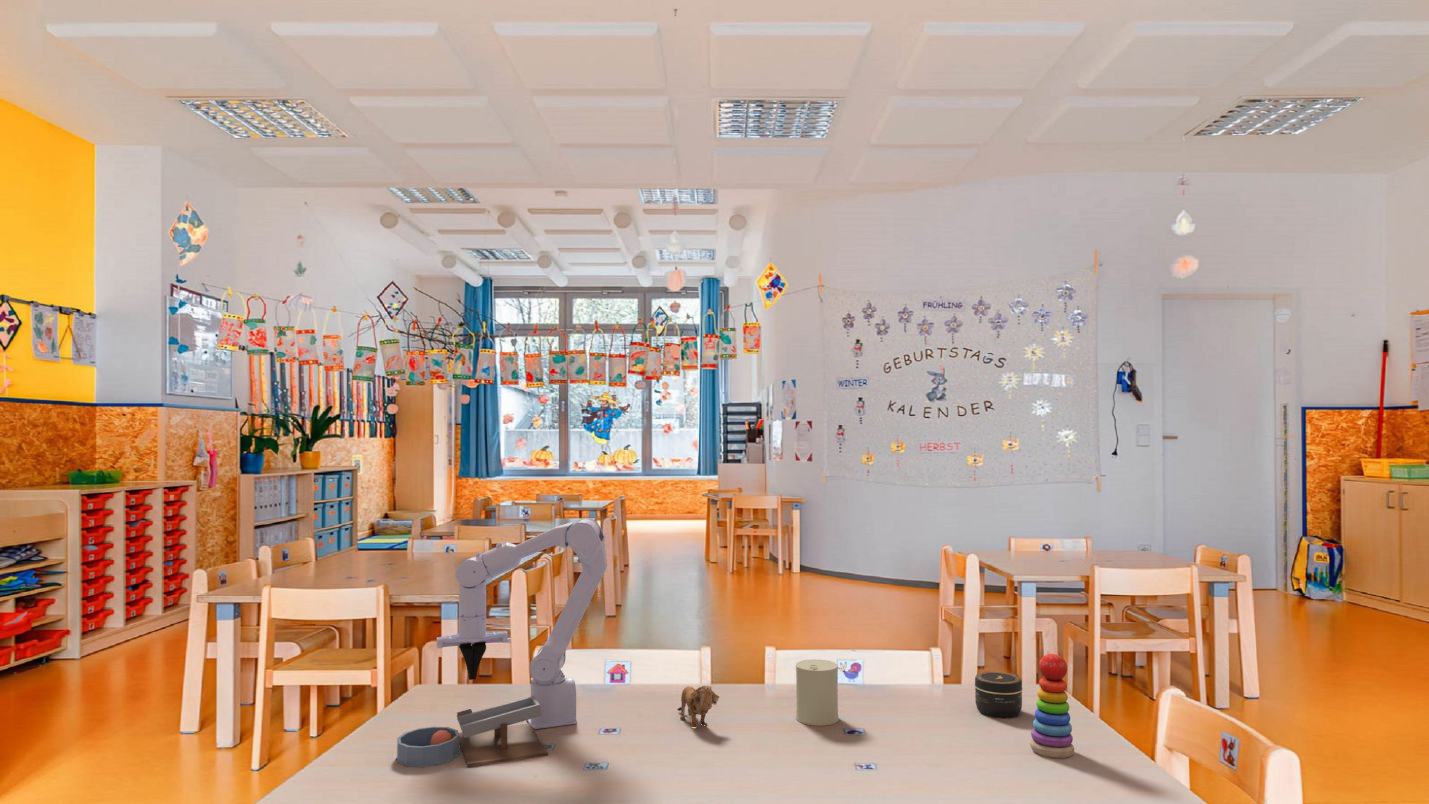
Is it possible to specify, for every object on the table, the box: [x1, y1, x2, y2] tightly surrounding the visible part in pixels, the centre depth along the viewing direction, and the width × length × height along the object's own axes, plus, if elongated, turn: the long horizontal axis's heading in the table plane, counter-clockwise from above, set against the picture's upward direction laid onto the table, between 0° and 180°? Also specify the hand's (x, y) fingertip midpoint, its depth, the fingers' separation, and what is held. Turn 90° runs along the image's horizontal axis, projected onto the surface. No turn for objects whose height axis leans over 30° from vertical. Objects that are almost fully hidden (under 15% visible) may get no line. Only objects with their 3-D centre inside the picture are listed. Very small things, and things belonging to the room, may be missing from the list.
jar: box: [974, 671, 1024, 719], centre depth 192 cm, size 10×10×8 cm
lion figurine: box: [677, 685, 720, 728], centre depth 186 cm, size 15×5×9 cm, turn 31°
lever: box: [456, 695, 542, 738], centre depth 175 cm, size 15×12×2 cm
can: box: [795, 659, 840, 727], centre depth 188 cm, size 9×9×12 cm
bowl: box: [396, 726, 460, 768], centre depth 167 cm, size 11×11×4 cm
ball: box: [431, 730, 452, 745], centre depth 168 cm, size 4×4×4 cm
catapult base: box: [458, 722, 549, 768], centre depth 172 cm, size 15×18×5 cm
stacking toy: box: [1029, 653, 1075, 759], centre depth 168 cm, size 8×8×19 cm
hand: (472, 678), depth 186 cm, fingers closed
